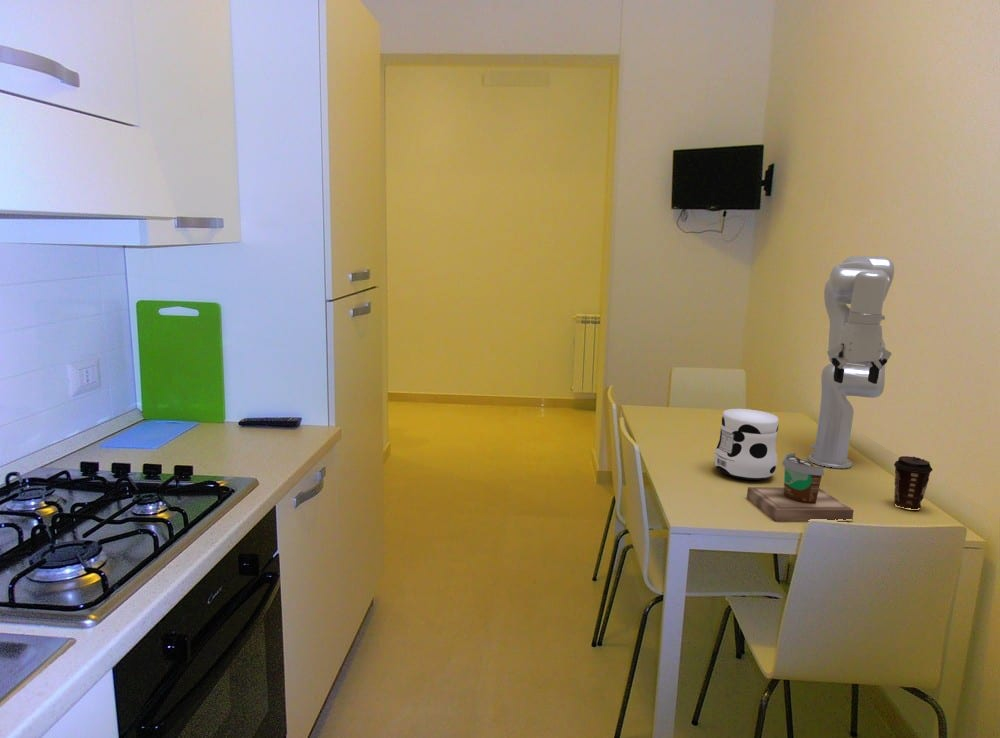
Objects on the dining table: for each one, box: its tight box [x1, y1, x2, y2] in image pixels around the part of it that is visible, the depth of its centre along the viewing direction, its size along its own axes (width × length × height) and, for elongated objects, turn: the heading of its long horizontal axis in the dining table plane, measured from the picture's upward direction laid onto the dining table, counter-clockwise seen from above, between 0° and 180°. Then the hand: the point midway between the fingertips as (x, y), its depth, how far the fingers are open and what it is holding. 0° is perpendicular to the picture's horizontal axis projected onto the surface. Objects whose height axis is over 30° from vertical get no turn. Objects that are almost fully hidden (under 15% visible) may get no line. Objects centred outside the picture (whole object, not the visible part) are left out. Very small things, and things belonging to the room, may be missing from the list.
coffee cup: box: [893, 455, 933, 509], centre depth 192 cm, size 9×8×13 cm
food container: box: [781, 452, 825, 504], centre depth 185 cm, size 12×6×10 cm, turn 13°
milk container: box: [714, 408, 779, 481], centre depth 211 cm, size 17×17×18 cm
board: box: [746, 486, 855, 523], centre depth 187 cm, size 16×20×3 cm
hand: (855, 382), depth 195 cm, fingers open, 9 cm apart
